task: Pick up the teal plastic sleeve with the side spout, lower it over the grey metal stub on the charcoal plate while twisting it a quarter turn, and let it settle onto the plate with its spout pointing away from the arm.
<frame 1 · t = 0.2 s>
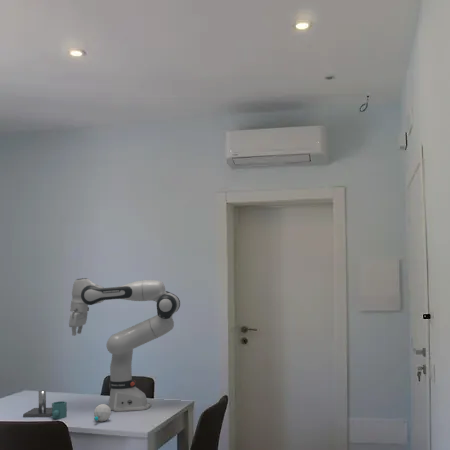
hand: (76, 334, 314), 39 cm above the table, fingers open, 8 cm apart
sleeve: (59, 417, 292), on the table
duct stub: (42, 413, 301), on the table
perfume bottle: (100, 422, 280), on the table
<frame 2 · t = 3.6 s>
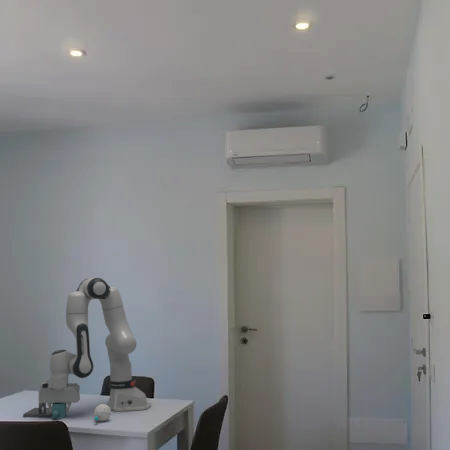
hand: (59, 411, 292), 3 cm above the table, fingers closed on sleeve, 6 cm apart
sleeve: (59, 417, 292), on the table, touching gripper
everything else where it was.
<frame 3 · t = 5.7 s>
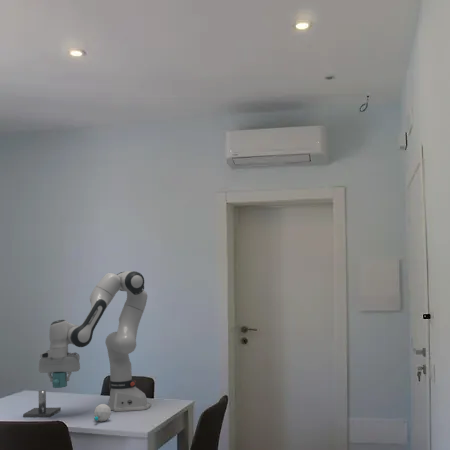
hand: (59, 381, 293), 18 cm above the table, fingers closed on sleeve, 6 cm apart
sleeve: (59, 386, 293), point 15 cm above the table, touching gripper
everything else where it was.
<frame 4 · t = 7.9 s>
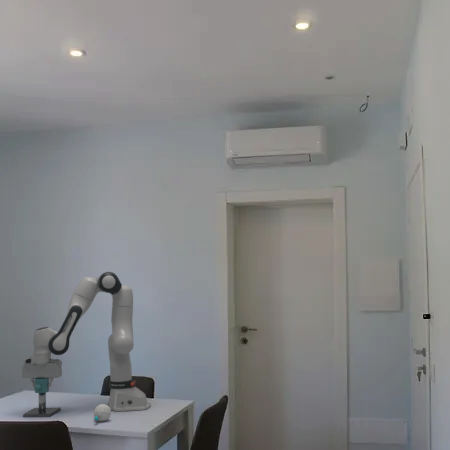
hand: (41, 386, 302), 14 cm above the table, fingers closed on sleeve, 6 cm apart
sleeve: (41, 391, 301), point 11 cm above the table, touching gripper
everything else where it was.
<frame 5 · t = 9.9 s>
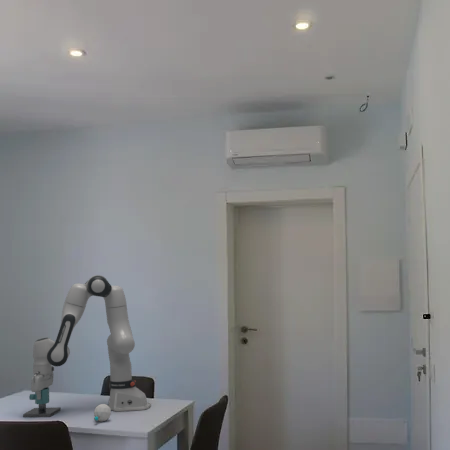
hand: (42, 397, 301), 8 cm above the table, fingers closed on sleeve, 6 cm apart
sleeve: (42, 402, 301), point 5 cm above the table, touching gripper
everything else where it was.
when the fingers open (5 cm above the table, at t = 11.7 s): sleeve stays where it is, resting on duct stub.
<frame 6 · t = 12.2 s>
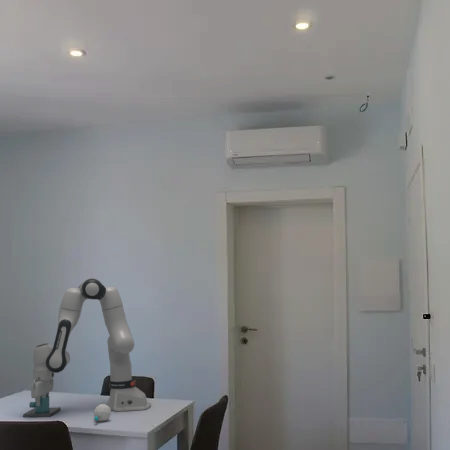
hand: (42, 403, 301), 5 cm above the table, fingers open, 8 cm apart
sleeve: (42, 410, 301), point 1 cm above the table, touching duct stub
everything else where it was.
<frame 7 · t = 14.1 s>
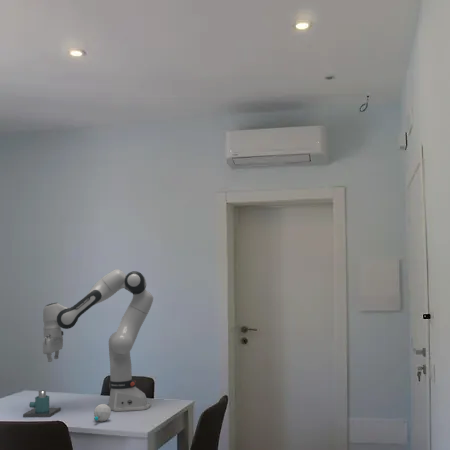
hand: (53, 360, 311), 26 cm above the table, fingers open, 8 cm apart
nothing on the table moved.
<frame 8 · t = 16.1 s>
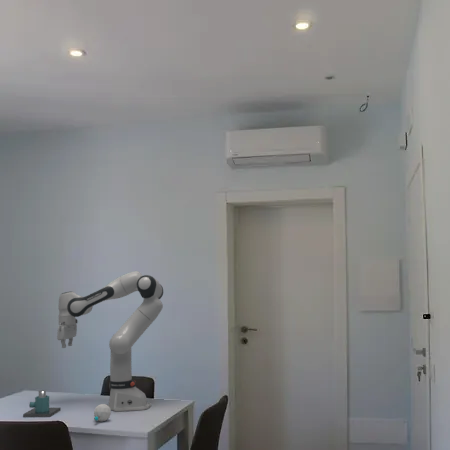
hand: (67, 346, 323), 31 cm above the table, fingers open, 8 cm apart
nothing on the table moved.
at the end: sleeve 0.0 cm off-centre on the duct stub, point 1.5 cm above the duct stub's base; sleeve tilted 0°; the gripper is holding nothing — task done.
